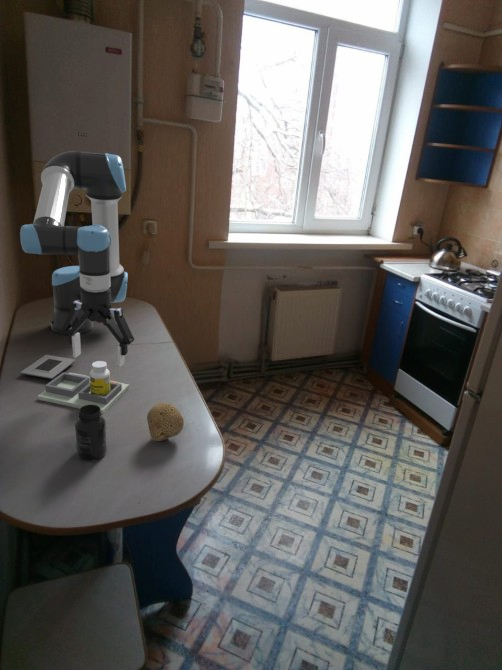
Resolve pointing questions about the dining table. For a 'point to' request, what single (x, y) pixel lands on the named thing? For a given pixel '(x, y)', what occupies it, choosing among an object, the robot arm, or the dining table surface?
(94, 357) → the dining table surface
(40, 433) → the dining table surface
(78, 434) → the supplement bottle
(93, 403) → the tag board
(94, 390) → the supplement bottle
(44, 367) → the electrical outlet
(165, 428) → the natural sponge
